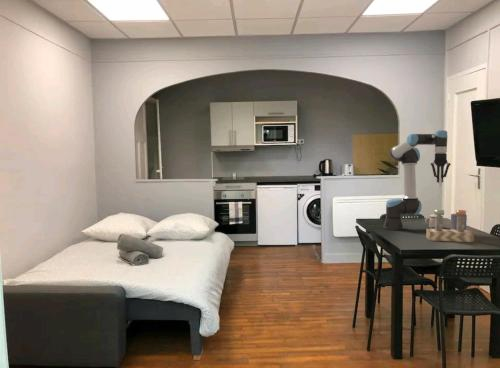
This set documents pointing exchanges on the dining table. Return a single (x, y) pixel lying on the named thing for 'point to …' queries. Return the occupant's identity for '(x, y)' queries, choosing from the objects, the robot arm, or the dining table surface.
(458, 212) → the terracotta plunger
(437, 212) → the sage plunger
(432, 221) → the teacup with lid
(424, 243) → the dining table surface
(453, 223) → the container
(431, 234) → the press stand
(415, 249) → the dining table surface
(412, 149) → the robot arm
